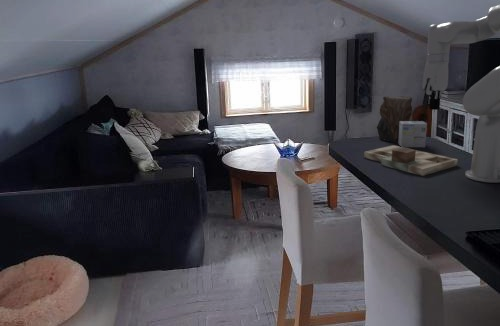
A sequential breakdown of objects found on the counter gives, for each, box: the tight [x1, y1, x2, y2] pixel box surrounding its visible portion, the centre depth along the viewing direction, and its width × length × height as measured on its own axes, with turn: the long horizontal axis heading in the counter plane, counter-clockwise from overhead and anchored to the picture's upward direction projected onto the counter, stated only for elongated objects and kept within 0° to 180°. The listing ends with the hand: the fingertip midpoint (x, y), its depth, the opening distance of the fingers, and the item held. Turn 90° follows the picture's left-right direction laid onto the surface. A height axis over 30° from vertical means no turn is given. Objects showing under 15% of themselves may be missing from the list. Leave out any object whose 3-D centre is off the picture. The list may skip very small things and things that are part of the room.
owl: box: [376, 96, 413, 143], centre depth 207 cm, size 13×13×20 cm
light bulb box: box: [397, 120, 428, 148], centre depth 194 cm, size 11×7×11 cm, turn 84°
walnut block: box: [391, 147, 417, 164], centre depth 163 cm, size 6×6×4 cm
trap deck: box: [363, 144, 459, 177], centre depth 170 cm, size 29×21×2 cm
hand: (434, 109), depth 165 cm, fingers closed
